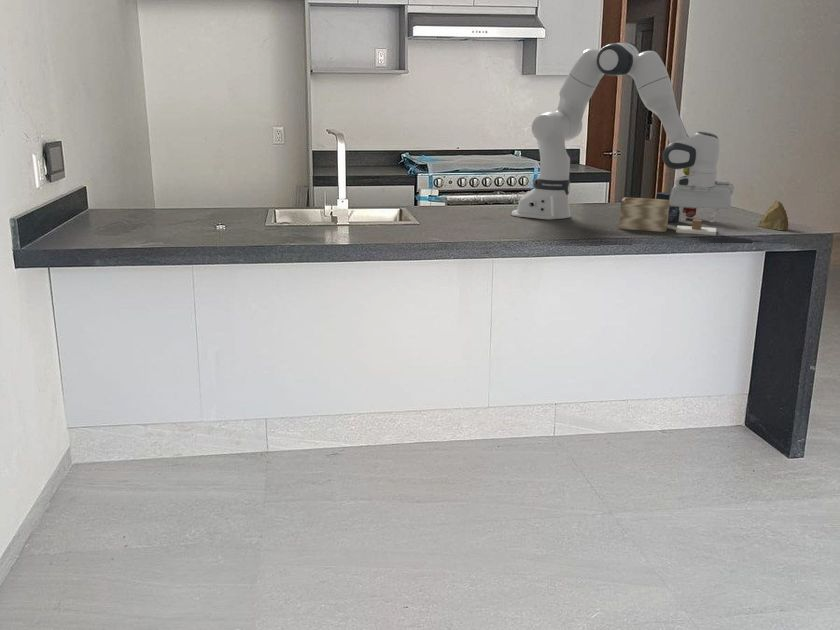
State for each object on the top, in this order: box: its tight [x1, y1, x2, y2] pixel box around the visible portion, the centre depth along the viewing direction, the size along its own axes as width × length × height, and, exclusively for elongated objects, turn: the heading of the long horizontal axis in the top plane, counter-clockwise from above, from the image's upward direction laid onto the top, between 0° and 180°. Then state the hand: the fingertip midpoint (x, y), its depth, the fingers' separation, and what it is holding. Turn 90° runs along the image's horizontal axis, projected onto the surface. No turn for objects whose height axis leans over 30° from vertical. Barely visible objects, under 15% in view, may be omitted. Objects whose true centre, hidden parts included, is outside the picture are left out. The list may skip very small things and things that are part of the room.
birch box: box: [618, 197, 670, 233], centre depth 282 cm, size 16×10×10 cm, turn 71°
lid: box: [675, 218, 717, 236], centre depth 277 cm, size 13×8×5 cm, turn 71°
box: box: [655, 191, 681, 223], centre depth 297 cm, size 8×6×11 cm
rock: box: [757, 199, 789, 231], centre depth 285 cm, size 11×9×10 cm
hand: (697, 220), depth 277 cm, fingers open, 8 cm apart
